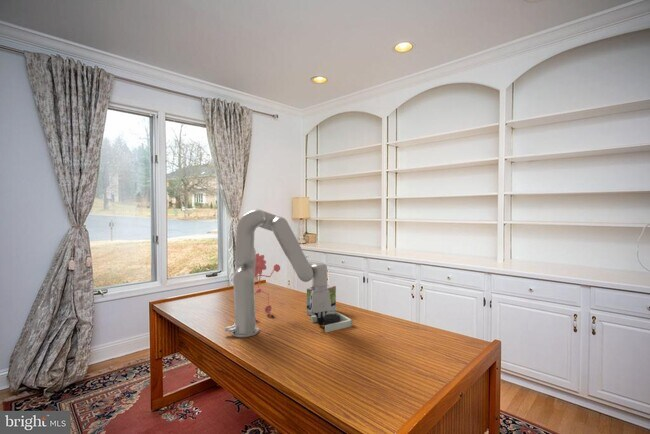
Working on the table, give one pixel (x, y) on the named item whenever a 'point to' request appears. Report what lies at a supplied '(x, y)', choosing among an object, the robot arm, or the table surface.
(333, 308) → the tea box
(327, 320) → the smart speaker
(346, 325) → the frame
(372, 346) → the table surface
